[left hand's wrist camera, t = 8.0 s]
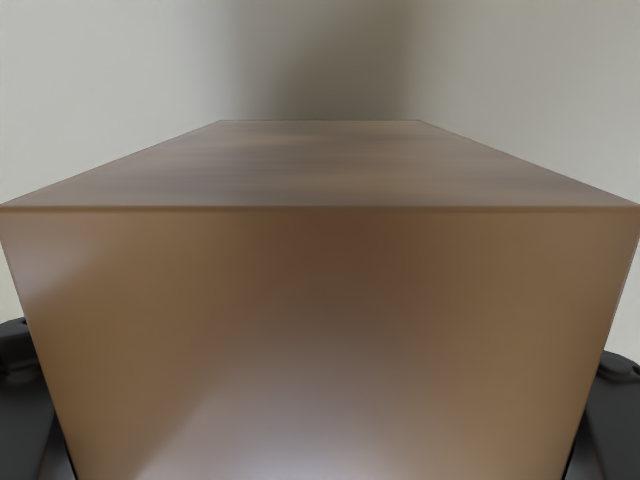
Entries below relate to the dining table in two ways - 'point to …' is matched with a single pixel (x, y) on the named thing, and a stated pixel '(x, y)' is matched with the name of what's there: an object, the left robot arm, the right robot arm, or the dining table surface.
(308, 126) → the brown wooden block
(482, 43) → the dining table surface
